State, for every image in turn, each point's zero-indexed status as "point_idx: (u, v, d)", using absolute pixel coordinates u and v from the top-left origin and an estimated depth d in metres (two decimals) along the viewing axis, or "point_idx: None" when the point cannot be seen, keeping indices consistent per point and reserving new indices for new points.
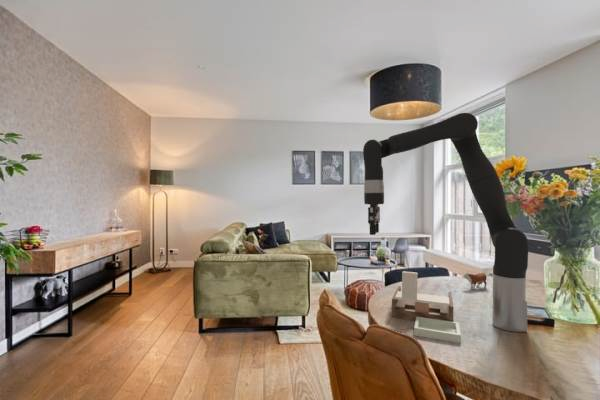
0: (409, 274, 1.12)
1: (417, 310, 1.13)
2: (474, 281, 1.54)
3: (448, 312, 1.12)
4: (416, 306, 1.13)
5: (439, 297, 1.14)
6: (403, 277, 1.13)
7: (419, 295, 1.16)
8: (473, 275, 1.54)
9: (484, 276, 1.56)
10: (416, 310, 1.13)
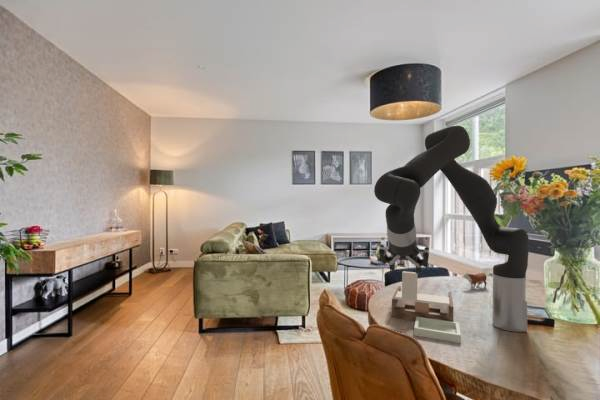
0: (409, 274, 1.12)
1: (417, 310, 1.13)
2: (474, 281, 1.54)
3: (448, 312, 1.12)
4: (416, 306, 1.13)
5: (439, 297, 1.14)
6: (403, 277, 1.13)
7: (419, 295, 1.16)
8: (473, 275, 1.54)
9: (484, 276, 1.56)
10: (416, 310, 1.13)
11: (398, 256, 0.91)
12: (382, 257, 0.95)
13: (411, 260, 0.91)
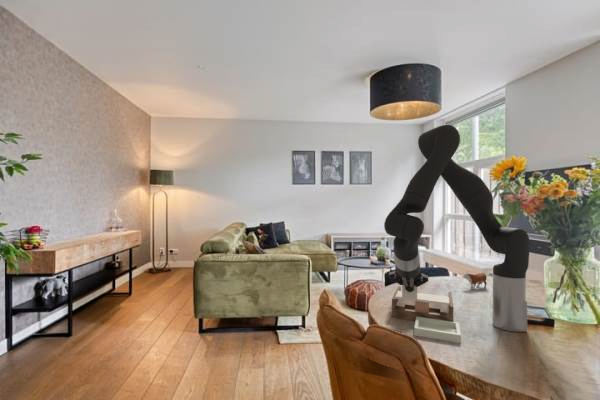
0: None
1: (417, 310, 1.13)
2: (474, 281, 1.54)
3: (448, 312, 1.12)
4: (416, 306, 1.13)
5: (439, 296, 1.15)
6: None
7: (419, 295, 1.17)
8: (473, 275, 1.54)
9: (484, 276, 1.56)
10: (416, 310, 1.13)
11: (403, 278, 1.05)
12: (396, 280, 1.09)
13: (411, 281, 1.05)
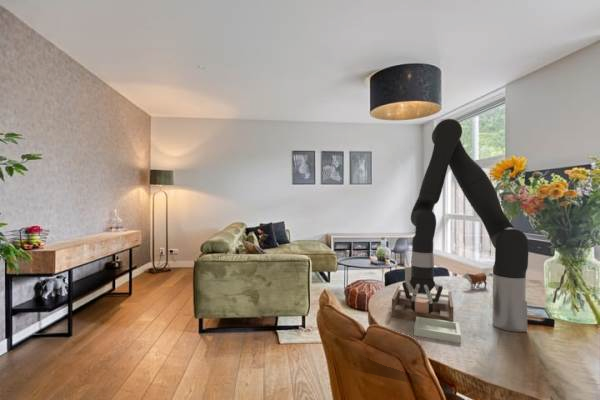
0: None
1: (417, 310, 1.13)
2: (474, 281, 1.54)
3: (448, 312, 1.12)
4: (416, 306, 1.13)
5: None
6: (406, 271, 1.23)
7: None
8: (473, 275, 1.54)
9: (484, 276, 1.56)
10: (416, 310, 1.13)
11: (418, 285, 1.13)
12: (405, 290, 1.16)
13: (427, 291, 1.12)
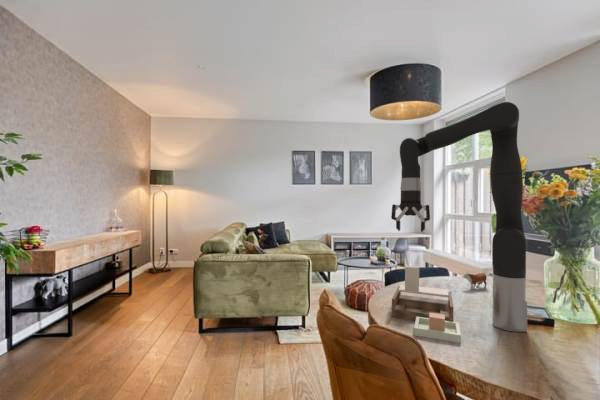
0: (411, 268, 1.22)
1: (432, 327, 1.00)
2: (474, 281, 1.54)
3: (448, 312, 1.12)
4: (430, 322, 1.00)
5: (439, 290, 1.24)
6: (406, 271, 1.23)
7: (420, 288, 1.26)
8: (473, 275, 1.54)
9: (484, 276, 1.56)
10: (430, 327, 1.00)
11: (406, 208, 1.24)
12: (393, 212, 1.27)
13: (416, 212, 1.23)
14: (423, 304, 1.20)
